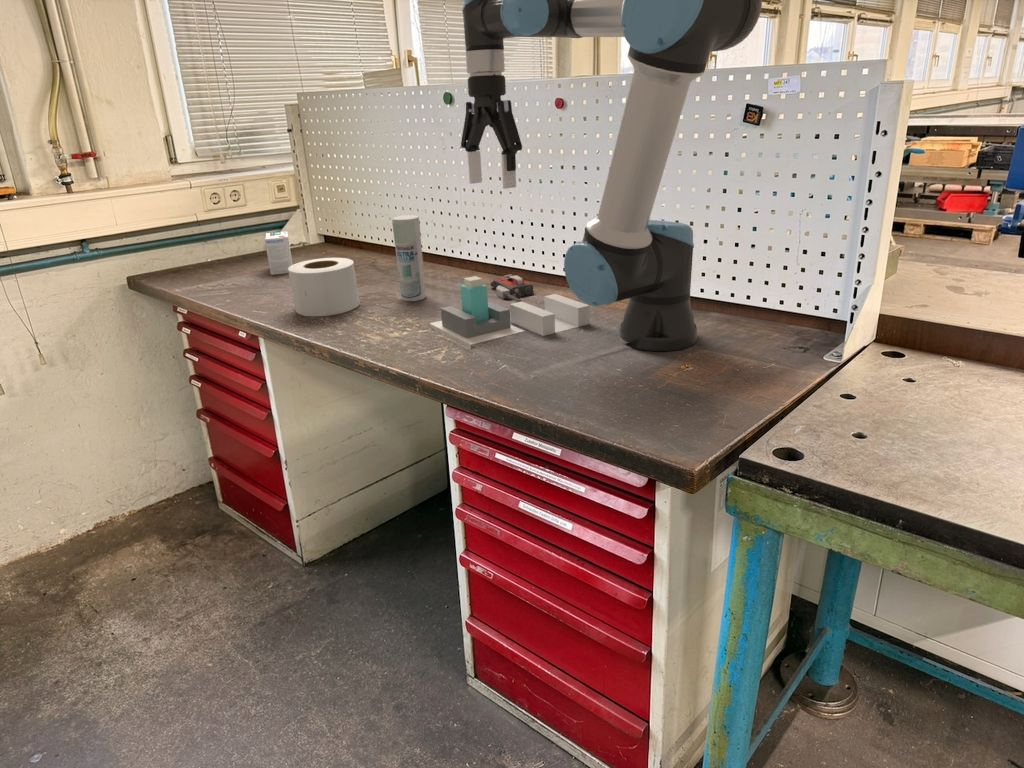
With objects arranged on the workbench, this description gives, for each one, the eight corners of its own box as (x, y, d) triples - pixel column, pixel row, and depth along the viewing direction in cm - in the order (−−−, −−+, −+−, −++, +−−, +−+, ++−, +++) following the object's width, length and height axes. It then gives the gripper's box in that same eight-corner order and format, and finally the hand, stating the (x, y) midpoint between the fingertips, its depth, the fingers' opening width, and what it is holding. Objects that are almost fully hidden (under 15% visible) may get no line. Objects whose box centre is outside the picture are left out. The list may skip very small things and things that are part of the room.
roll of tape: (311, 320, 160) (304, 275, 156) (285, 308, 171) (277, 265, 167) (370, 306, 169) (365, 263, 165) (342, 295, 180) (336, 254, 176)
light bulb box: (271, 267, 214) (264, 232, 210) (293, 265, 216) (287, 230, 212) (270, 275, 205) (264, 238, 201) (294, 272, 207) (287, 236, 203)
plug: (489, 327, 146) (486, 278, 142) (472, 331, 144) (469, 282, 140) (479, 322, 149) (476, 275, 145) (463, 326, 147) (459, 278, 143)
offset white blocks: (589, 328, 145) (589, 305, 144) (543, 340, 140) (542, 316, 138) (555, 315, 155) (555, 293, 153) (511, 326, 149) (509, 304, 147)
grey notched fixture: (525, 335, 143) (524, 312, 141) (471, 349, 137) (469, 325, 135) (481, 315, 157) (479, 294, 155) (430, 327, 151) (427, 305, 149)
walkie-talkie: (483, 290, 180) (516, 308, 163) (482, 273, 178) (515, 290, 161) (513, 285, 183) (549, 302, 166) (512, 268, 181) (548, 284, 165)
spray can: (396, 301, 172) (387, 219, 164) (406, 294, 178) (397, 215, 170) (421, 301, 171) (413, 219, 163) (430, 294, 176) (422, 215, 169)
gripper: (537, 71, 129) (540, 188, 137) (471, 77, 149) (477, 179, 157) (503, 72, 125) (509, 192, 134) (440, 78, 145) (448, 182, 153)
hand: (492, 185), depth 145 cm, fingers open, 13 cm apart
